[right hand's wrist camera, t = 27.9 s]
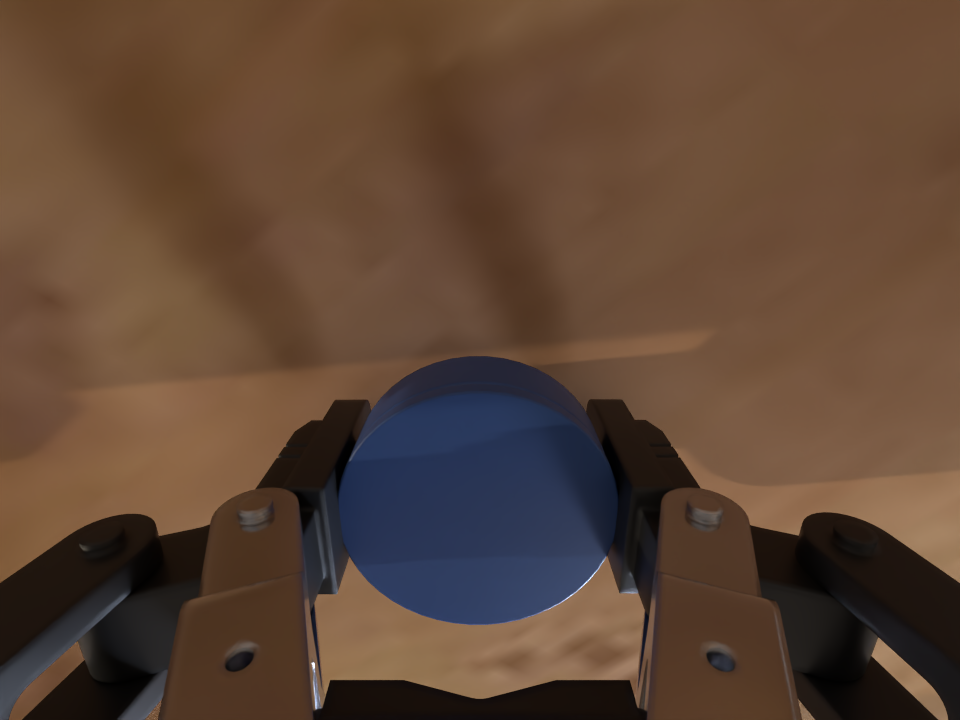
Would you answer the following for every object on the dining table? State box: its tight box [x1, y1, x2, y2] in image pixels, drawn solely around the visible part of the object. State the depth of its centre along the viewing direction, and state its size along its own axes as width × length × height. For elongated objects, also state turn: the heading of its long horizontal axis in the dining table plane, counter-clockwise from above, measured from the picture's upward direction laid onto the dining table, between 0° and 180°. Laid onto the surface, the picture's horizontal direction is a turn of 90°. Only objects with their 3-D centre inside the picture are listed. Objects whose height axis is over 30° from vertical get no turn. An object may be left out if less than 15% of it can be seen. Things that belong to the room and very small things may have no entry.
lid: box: [338, 356, 619, 625], centre depth 10 cm, size 5×5×2 cm
